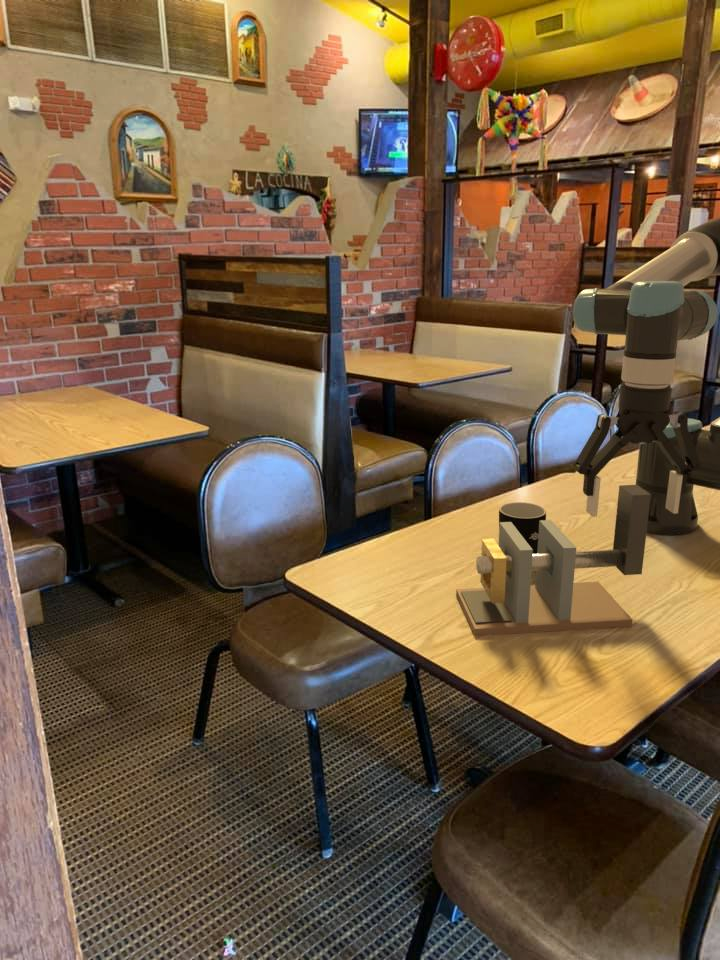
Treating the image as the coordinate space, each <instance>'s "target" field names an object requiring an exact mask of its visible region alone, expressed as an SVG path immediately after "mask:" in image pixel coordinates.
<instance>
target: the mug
mask: <svg viewBox="0 0 720 960" xmlns="http://www.w3.org/2000/svg"><path fill="white" fill-rule="evenodd" d="M498 510H499V511H498V526H499V525H500V522H512V524H513V525H514V526H515V528H516V529H517V530H518V531H519V533H520V534H521V535H522V537H523V538H524V539H525V540H526V542H527V543H528V544H529V546H530V547H531V548H532V549H533V554H537V551H538V535H539V521H540V520H547V510H546V509H545V507H543V506H541V505H538V504H535V503H531V502H522V501H519V502H518V501H517V502H509V503H505V504H502V505H501V506H500V507H499V509H498Z"/></svg>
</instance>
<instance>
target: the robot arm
mask: <svg viewBox="0 0 720 960" xmlns="http://www.w3.org/2000/svg"><path fill="white" fill-rule="evenodd" d="M710 276H720V217H717V218H713V219H710V220H709V221H706V222H704V223H701V224H699V225H697V226H695V227H693V228H692V229H689V230H687V231H686V232H684V233H683V234H681V235H679V236H678V237H677V238H676V239H674V240H673V242H672V244H671V245H670V248H669V249H667V250H665V251H663V252H662V253H661V254H659V255H657V256H655V257H653V258H652V259H651V260H650V261H647V262H646V263H644V264H643V265H641V266H640V267H639V268H636V269H635V270H634V271H632V272H631V273H629V274H627V275H625V276H624V277H622V278H621V279H619V280H618V281H616V282H614V283H613V284H611V285H610V286H608V287H606V288H599V287H594V288H586V289H582V291H580V292H579V294H578V295H577V297H576V298H575V300H574V303H573V307H572V315H573V318H572V319H573V322H574V325H575V327H576V328H577V329H578V330H579V331H581V332H587V333H592V334H594V335H599V334H600V335H612V336H614V335H615V336H625V342H624V349H623V350H624V351H623V357H622V359H623V360H622V366H621V367H622V368H621V377H620V380H621V381H622V384H621V385H620V386H619V387H620V388H619V394H618V395H619V396H618V411H617V414H616V415H615V416H609V415H606V414H603V413H599V414H598V415H597V417H596V422H595V426H594V429H593V431H592V433H591V435H589V438H588V439H587V441H586V442H585V445H584V446H583V448H582V449H581V451H580V453H579V454H578V457H577V458H576V460H575V462H574V463H573V466H572V468H573V470H574V471H576V472H577V473H578V474H580V475H583V484H582V492H583V494H584V495H586V498H587V499H586V508H585V511H586V512H587V513H588V514H589V515H590V516H591V517H595V518H597V517H598V509H599V501H600V500H599V498H600V489H601V479H602V478H601V477H600V476H599V475H598V474H599V473H600V472H601V471H602V470H603V469H604V468H605V467H606V466H607V465H608V464H609V462H610V461H611V460H612V459H613V458H614V457H616V455H617V454H618V453H619V452H620V451H621V449H622V448H624V447H626V446H627V445H628V444H629V443H631V444H633V445H635V444H636V445H637V444H639V446H638V447H639V448H638V456H637V457H638V458H637V469H636V478H635V485H638V486H639V487H641V488H642V489H644V490H645V491H647V492H648V493H649V494H651V498H650V507H649V515H648V524H647V533H650V534H651V533H652V534H656V535H664V536H665V535H668V536H671V535H672V536H674V535H677V536H678V535H679V536H680V535H686V534H689V533H692V532H694V531H696V529H697V528H698V522H699V516H698V515H699V514H698V511H697V506H696V502H695V498H694V494H693V493H694V486H698V487H701V488H702V487H703V488H706V489H712V490H716V491H720V416H719V417H718V418H716V419H715V420H713V421H712V422H711V423H710V427H709V430H707V429H703V423H702V421H701V420H699V419H695V418H689V417H688V415H686V414H684V413H682V412H680V411H674V412H673V414H669V409H670V407H671V399H672V391H673V389H672V388H671V386H670V385H671V384H672V383H673V382H674V375H675V364H676V356H677V348H678V343H679V341H685V340H688V341H689V340H693V339H697V337H700V336H703V335H705V334H706V333H708V332H709V331H710V330H711V329H712V327H714V325H715V323H716V320H717V317H718V309H717V304H716V302H715V301H714V299H713V298H712V297H711V296H710V295H709V294H707V292H706V293H705V292H703V291H697V290H685V286H687V285H688V284H689V283H691V282H696V281H697V282H698V281H702V280H703V279H706V278H707V277H710ZM684 290H685V291H684ZM614 426H616V427H617V430H616V431H614V433H613V434H612V435H611V438H610V439H609V440H608V442H607V443H605V445H603V443H604V441H605V440H606V439H607V438H606V437H607V436H608V434H609V431H610V430H612V429H613V427H614ZM602 445H603V446H602ZM601 447H602V448H601ZM600 448H601V449H600ZM598 451H599V452H598Z"/></svg>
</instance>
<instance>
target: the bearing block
mask: <svg viewBox="0 0 720 960" xmlns="http://www.w3.org/2000/svg"><path fill="white" fill-rule="evenodd" d="M498 546H499V547H500V549H501V550H502V552H503V553H504V555H511V557H512V568H511V572H506V581H505V601H504V603H496V604H492V602H491V600H490V599H489V597H488V595H487V593H486V591H485V589H484V588H483V587H474V588H473V587H472V588H458V589H457V588H455V589H456V590H455V595H456V598H457V599H458V600H457V601H458V602H459V604H460V607H461V609H462V611H463V613H464V615H465V617H466V619H467V622H468V624H469V626H470V629H471V630H472V633H473V635H474V636H489V635H490V636H492V635H505V634H506V635H508V634H510V635H511V634H524V633H537V632H538V633H541V632H555V631H557V632H559V631H574V630H575V631H576V630H592V629H606V628H609V629H610V628H623V627H626V628H627V627H633V621H634V620H633V618H632V617H631V616H630V615H629V614H628V613H627V611H625V609H624V608H623V607H622V606H621V605H620V604H619V602H617V600H616V599H615V598H614V597H613V596H612V595H611V594H610V592H608V591H607V589H606V588H605V587H604V586H603V585H602V584H601V583H600V582H599V581H586V582H585V581H584V582H574V580H575V572H576V571H575V559H576V552H577V546H576V545H575V544H573V542H572V541H571V540H570V539H569V538H568V537H567V535H565V534H564V533H563V531H561V529H560V528H559V527H558V526H557V525H556V524H555V522H553V521H552V520H551V519H546V520H540V521H539V535H538V551H537V554H540V553H553V555H554V563H553V570H539V571H535V581H534V582H535V584H532V572H533V571H532V555H533V549H532V548H531V547H530V546H529V544H528V543H527V542H526V540H525V539H524V538H523V537H522V535H521V534H520V533H519V531H518V530H517V529H516V528H515V526H514V525H513V524H512V522H500V525H499V524H498Z"/></svg>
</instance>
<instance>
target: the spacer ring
mask: <svg viewBox="0 0 720 960" xmlns="http://www.w3.org/2000/svg"><path fill="white" fill-rule="evenodd" d="M481 556H487V557H488V558H489V560H490V562H491V563H492V564H491V573H482V574H480V581H479V582H480V584H481V586H482V588H484V589H485V591H486V593H487V595H488V597H489V599H490V600H491V602H492V604H496V603H504V601H505V581H506V561H507V558H506V556H505V555H504V553H503V552H502V550H501V549H500V547H499V543H497V542H496V540H495V538H482V539H481V554H480V557H481Z"/></svg>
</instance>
